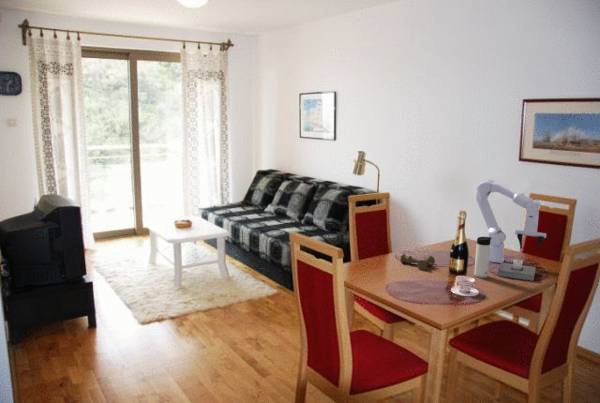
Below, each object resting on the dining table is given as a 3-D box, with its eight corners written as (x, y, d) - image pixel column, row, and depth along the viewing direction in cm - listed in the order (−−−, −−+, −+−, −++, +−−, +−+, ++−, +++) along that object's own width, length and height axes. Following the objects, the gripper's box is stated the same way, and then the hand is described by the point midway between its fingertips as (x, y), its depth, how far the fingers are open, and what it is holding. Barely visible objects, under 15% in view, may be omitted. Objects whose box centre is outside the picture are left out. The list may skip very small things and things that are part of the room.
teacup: (445, 291, 221) (446, 278, 220) (458, 285, 229) (459, 272, 228) (470, 299, 212) (471, 285, 211) (483, 292, 221) (484, 279, 219)
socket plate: (497, 275, 242) (498, 270, 241) (500, 267, 254) (501, 262, 253) (533, 281, 234) (533, 275, 234) (534, 272, 247) (535, 267, 246)
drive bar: (511, 274, 244) (513, 261, 242) (512, 272, 247) (513, 259, 246) (520, 276, 242) (521, 262, 240) (521, 273, 245) (522, 260, 244)
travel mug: (489, 279, 237) (492, 239, 233) (475, 278, 238) (478, 238, 235) (487, 274, 243) (490, 235, 239) (473, 273, 244) (476, 235, 241)
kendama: (406, 261, 266) (441, 268, 253) (397, 266, 258) (433, 273, 246) (406, 250, 264) (441, 257, 252) (397, 255, 257) (433, 261, 245)
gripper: (515, 223, 252) (513, 249, 254) (547, 227, 245) (544, 253, 248) (516, 221, 258) (514, 246, 260) (547, 224, 251) (544, 249, 254)
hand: (529, 249), depth 254 cm, fingers open, 7 cm apart
